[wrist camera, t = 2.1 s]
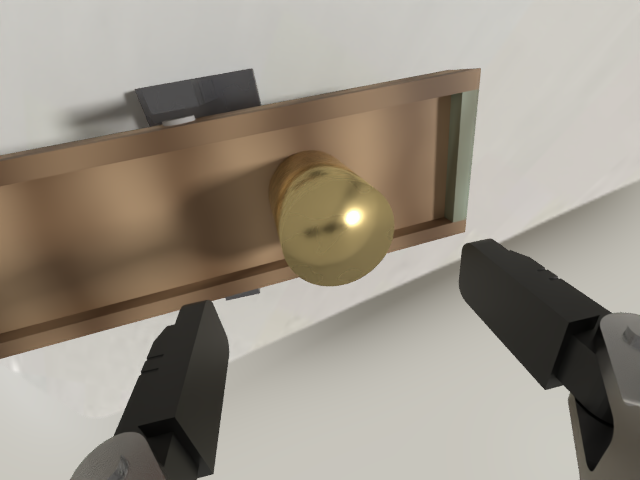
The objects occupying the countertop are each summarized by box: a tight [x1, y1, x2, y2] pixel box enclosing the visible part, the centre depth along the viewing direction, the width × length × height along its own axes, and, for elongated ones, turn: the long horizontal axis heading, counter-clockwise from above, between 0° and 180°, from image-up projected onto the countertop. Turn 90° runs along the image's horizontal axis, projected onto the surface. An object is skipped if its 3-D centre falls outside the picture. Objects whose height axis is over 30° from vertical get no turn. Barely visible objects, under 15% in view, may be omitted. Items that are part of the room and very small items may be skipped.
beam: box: [0, 68, 481, 359], centre depth 18 cm, size 32×10×3 cm, turn 99°
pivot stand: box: [135, 69, 261, 300], centre depth 21 cm, size 8×14×8 cm, turn 9°
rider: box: [268, 150, 394, 286], centre depth 15 cm, size 5×5×6 cm
